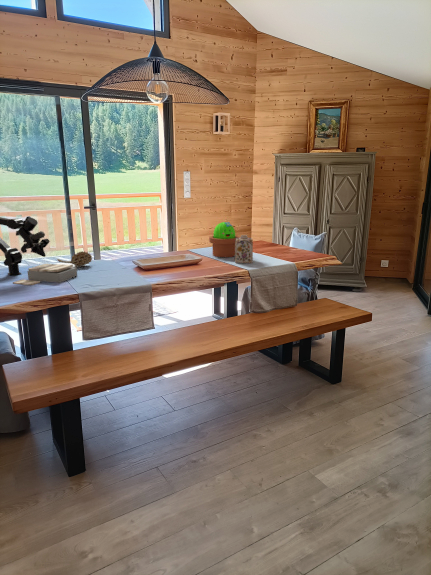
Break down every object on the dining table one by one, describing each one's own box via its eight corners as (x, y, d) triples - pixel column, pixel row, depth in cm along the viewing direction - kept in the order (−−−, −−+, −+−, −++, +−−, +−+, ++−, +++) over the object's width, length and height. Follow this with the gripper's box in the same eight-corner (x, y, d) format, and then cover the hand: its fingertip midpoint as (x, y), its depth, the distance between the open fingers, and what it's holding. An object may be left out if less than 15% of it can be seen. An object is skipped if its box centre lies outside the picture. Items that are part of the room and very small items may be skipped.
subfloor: (28, 279, 240) (27, 268, 238) (47, 273, 255) (46, 263, 253) (59, 282, 233) (58, 271, 232) (77, 275, 248) (76, 265, 246)
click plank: (38, 271, 237) (38, 269, 237) (55, 266, 250) (54, 264, 250) (57, 271, 233) (57, 269, 233) (73, 266, 246) (72, 264, 246)
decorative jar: (252, 263, 279) (253, 236, 274) (235, 263, 280) (235, 236, 275) (251, 259, 291) (252, 234, 286) (234, 259, 291) (235, 234, 286)
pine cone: (92, 264, 280) (90, 249, 277) (93, 267, 271) (92, 252, 268) (57, 266, 272) (55, 251, 269) (57, 270, 263) (55, 254, 261)
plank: (13, 284, 232) (12, 282, 232) (22, 281, 239) (22, 279, 238) (31, 286, 228) (31, 284, 228) (40, 283, 235) (40, 281, 234)
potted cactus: (206, 253, 313) (205, 220, 306) (233, 251, 320) (233, 219, 313) (214, 259, 293) (214, 223, 286) (243, 257, 299) (244, 222, 293)
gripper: (22, 229, 230) (40, 250, 230) (45, 225, 247) (62, 244, 247) (12, 242, 235) (30, 262, 235) (36, 237, 252) (53, 256, 252)
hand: (44, 256), depth 242 cm, fingers closed
